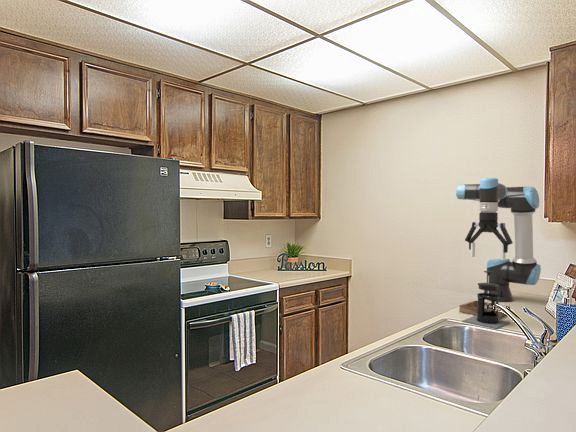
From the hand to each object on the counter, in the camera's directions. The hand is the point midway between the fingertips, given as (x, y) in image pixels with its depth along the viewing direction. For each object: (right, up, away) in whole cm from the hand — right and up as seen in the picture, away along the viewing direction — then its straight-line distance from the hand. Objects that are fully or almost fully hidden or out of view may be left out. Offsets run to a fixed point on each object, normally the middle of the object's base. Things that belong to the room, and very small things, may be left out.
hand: (487, 258), depth 188 cm
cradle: (+7, -29, +18) cm, 35 cm away
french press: (0, -29, 0) cm, 29 cm away
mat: (0, -29, +1) cm, 29 cm away
